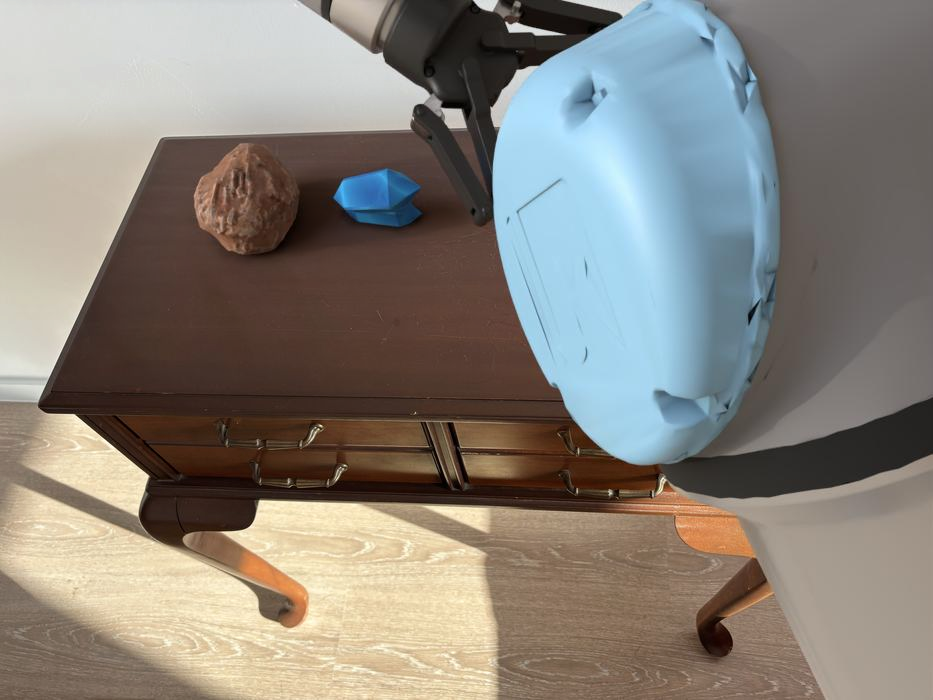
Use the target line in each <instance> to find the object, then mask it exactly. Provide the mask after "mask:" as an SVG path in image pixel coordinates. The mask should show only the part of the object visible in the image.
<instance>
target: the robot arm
mask: <svg viewBox="0 0 933 700" xmlns="http://www.w3.org/2000/svg"><path fill="white" fill-rule="evenodd" d="M297 1H298V2H299V3H301V4H302V5H303V6H305V7H306V8H307V9H309V10H311V11H312V12H314V13H315V14H316V15H318V16H319V17H321V18H322V19H324V20H325V21H327V22H328V23H329V24H331V25H332V26H333V27H335V28H336V29H338V30H339V31H340V32H342V33H343V34H344V35H346V36H347V37H349V38H350V39H352V41H354V42H356V43H357V44H358V45H360V46H361V47H362V48H364V49H365V50H367V51H368V52H370V53H371V54H372V55H379V54H382V57H383V60H384V63H385V64H386V65H388V66H389V67H390V68H392V69H393V70H394V71H396V73H397V72H398V73H399V74H400V75H401V76H403V77H404V78H405V79H407V80H409V81H410V82H411V83H413V84H414V85H416V86H418V87H420V88H422V89H423V90H425V91H426V92H427V93H428V94H429V97H428V98H427V99H426V100H425V101H424V102H423V103H417V104H415V105H414V107H412V112H411V119H410V124H409V126H410V129H411V130H412V131H413V132H414V133H415V134H416V136H418V137H419V138H421V140H423V141H424V142H425V143H426V144H427V145H428V146H429V148H430V149H431V151H432V152H433V154H434V157H436V159H437V161H438V163H439V165H440V166H441V168H442V170H443V171H444V174H445V175H446V178H447V179H448V181H449V182H450V184H451V186H452V187H453V189H454V190H455V193H456V194H457V196H458V198H459V200H460V201H461V203H462V205H463V207H464V208H465V211H466V212H467V213H468V215H469V218H470V219H471V220H472V222H473V224H474V225H475V226H477V227H478V228H479V227H480V228H482V227H485V226H486V225H487V224H488V223H489V222H491V221H492V220H493V221H494V227H495V233H496V240H497V246H498V250H499V254H500V259H501V263H502V268H503V272H504V276H505V279H506V282H507V286H508V290H509V293H510V296H511V299H512V302H513V306H514V308H515V311H516V314H517V317H518V320H519V322H520V326H521V328H522V330H523V332H524V334H525V337H526V339H527V342H528V344H529V346H530V348H531V351H532V353H533V355H534V357H535V360H536V361H537V363H538V365H539V368H540V370H541V372H542V374H543V375H544V377H545V378H546V380H547V382H548V384H549V385H550V386H551V387H552V388H555V389H558V390H559V392H560V394H561V397H562V400H563V403H564V406H565V409H566V410H567V412H568V413H569V416H571V418H572V419H573V421H574V422H575V423H576V424H577V425H578V427H579V428H580V429H581V430H582V432H583V433H584V434H585V435H586V436H587V437H589V439H590V440H592V441H593V443H595V444H596V445H597V446H599V448H601V449H602V450H603V451H605V452H606V453H608V454H609V455H610V456H611V457H614V458H616V459H618V460H621V461H624V462H625V463H628V464H631V465H636V466H654V465H657V464H658V466H659V468H660V470H661V472H662V474H663V476H664V478H665V479H666V481H667V484H668V485H669V487H670V488H671V489H672V490H673V491H674V492H675V493H677V494H678V495H680V496H682V497H684V498H686V499H687V500H689V501H692V502H694V503H695V502H696V503H698V504H701V505H705V506H709V507H712V508H715V509H718V510H721V511H723V512H726V513H730V514H732V515H735V517H736V519H737V521H738V523H739V525H740V527H741V529H742V531H743V533H744V535H745V537H746V539H747V542H748V543H749V546H750V548H751V550H752V552H753V554H754V556H755V559H756V560H757V562H758V564H759V566H760V568H761V570H762V572H763V575H764V576H765V578H766V581H767V582H768V585H769V586H770V589H771V591H772V592H773V595H774V597H775V599H776V602H777V603H778V605H779V607H780V609H781V611H782V613H783V615H784V618H785V619H786V622H787V623H788V626H789V627H790V630H791V632H792V634H793V636H794V637H795V640H796V642H797V644H798V646H799V648H800V651H801V652H802V654H803V656H804V658H805V660H806V663H807V665H808V667H809V669H810V671H811V673H812V675H813V677H814V679H815V682H816V683H817V685H818V688H819V689H820V691H821V694H822V695H823V697H824V699H825V700H933V0H644V1H642V2H639V4H637V5H636V6H635V7H634V8H633V9H632V10H630V11H629V12H628V13H627V14H626V15H624V16H623V15H622V14H621V13H619V12H617V11H613V10H608V9H604V8H600V7H595V6H590V5H586V4H581V3H577V2H574V1H573V2H572V1H569V0H497V2H496V4H495V6H494V7H493V9H492V11H491V10H488V9H487V10H486V9H484V8H482V7H480V6H479V5H478V4H477V3H476V2H475V1H474V0H297ZM517 23H518V24H519V25H522V26H524V27H527V28H528V27H529V28H533V29H537V30H542V31H547V32H551V33H557V34H543V35H536V34H535V33H534V32H532V31H520V32H519V31H516V32H515V31H514V32H513V31H512V32H511V31H509V28H508V25H509V26H510V25H514V24H517ZM507 24H508V25H507ZM529 67H536V68H535V69H534V70H533V71H532V72H531V73H530V74H529V75H528V76H527V77H526V78H525V79H524V81H522V82H521V85H519V87H518V89H517V90H516V92H515V93H514V95H513V96H512V98H511V100H510V102H509V104H508V106H507V108H506V110H505V113H504V115H503V118H502V121H501V123H500V125H499V130H498V133H497V132H496V128H495V125H494V122H493V121H494V120H493V119H492V109H491V108H494V106H495V105H496V103H497V102H498V100H499V98H500V96H501V94H502V92H503V90H504V89H505V88H507V87H508V86H509V85H510V84H511V82H512V80H513V79H514V78H515V76H516V73H517V71H521V70H525V69H527V68H529ZM443 109H448V110H461V113H462V116H463V120H464V123H465V127H466V129H467V132H468V133H469V134H470V138H471V141H472V143H473V147H474V151H475V153H476V157H477V160H478V163H479V168H480V171H481V173H482V178H483V181H484V184H485V187H486V190H485V189H484V187H483V185H482V183H481V182H480V180H479V178H478V176H477V175H476V173H475V171H474V170H473V168H472V166H471V164H470V162H469V161H468V158H466V155H465V154H464V152H463V150H462V149H461V147H460V145H459V144H458V141H457V140H456V137H454V134H453V133H452V131H451V129H450V128H449V126H448V125H447V124H446V123H445V121H446V115H445V114H444V112H443ZM486 191H487V192H486Z"/></svg>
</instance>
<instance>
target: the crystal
mask: <svg viewBox="0 0 933 700" xmlns="http://www.w3.org/2000/svg"><path fill="white" fill-rule="evenodd" d="M421 189H422V187H421V186H420V185H419V184H417V183H416V182H415V181H414V180H412V179H411V178H409V177H408V176H407V175H405V174H404V173H402V172H399V171H397V170H394V169H390V168H385V169H381V170H376V171H372V172H367V173H363V174H358V175H354V176H349V177H346V178H345V177H344V178H343V180H342V181H341V182H340V185H339V187H338V188H337V190H336V192H335V194H334V196H333V199H334V200H335V201H336V202H337V203H338V204H339V205H340V206H341V207H342V208H343V209H344V210H345V212H346V213H347V215H349V217H351V218H353V219H354V220H355V221H357V222H359V223H365V224H374V225H383V226H391V227H398V228H400V227H404V226H406V225H410V224H411V223H412V222H414V221H415V220H417V218H419V217H420V216H421V215H422V211H420V210H419V209H418V208H416V207H415V206H414V205H413V204H412V201H413V200H414V198H415V197H416V195H417V194H418V193H419V192H420V191H421Z"/></svg>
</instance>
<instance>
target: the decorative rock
mask: <svg viewBox="0 0 933 700" xmlns="http://www.w3.org/2000/svg"><path fill="white" fill-rule="evenodd" d="M300 193H301V192H300V190H299V188H298V184H297V181H296V178H295V177H294V175H293V174H292V173H291V172H290V171H289V170H288V168H287V167H286V166H285V164H283V163H282V161H280V159H279V158H278V157H277V155H276V154H275V153H273V151H271V150H270V149H269V147H268V146H266V145H264V144H259V143H255V142H241V143H239V144H238V145H237V146H236V147H235V148H233V149H232V150H231V151H230V152H228V153H227V154H226V155H224V157H223V158H222V159H221V160H220V162H219V163H218V165H216V166H215V167H214V168H213V170H212V171H209V172H208V173H206V174H204V175H203V176H201V177H200V179H199V182H198V184H197V186H196V189H195V192H194V195H193V199H194V200H193V201H194V209H195V215H196V219H197V221H198V226H199V228H200V229H202V230H203V231H206V232H208V233H210V234H211V235H212V236H213V237H214V238H215V239H216V240H217V241H218V242H219V243H220V244H221V246H223V247H224V248H225V249H226V250H227V251H228V252H234V253H236V254H238V255H246V256H247V255H248V256H249V255H256V254H257V255H258V254H262V253H267V252H271V251H274V250H275V249H276V248H277V247H278V246H279V245H280V243H281V242H282V241H283V240H284V239H285V236H286V235H287V233H288V232H289V230H290V229H291V227H292V226H293V223H294V221H295V220H296V217H297V212H298V210H299V208H298V206H299V198H300V197H299V196H300Z"/></svg>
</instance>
